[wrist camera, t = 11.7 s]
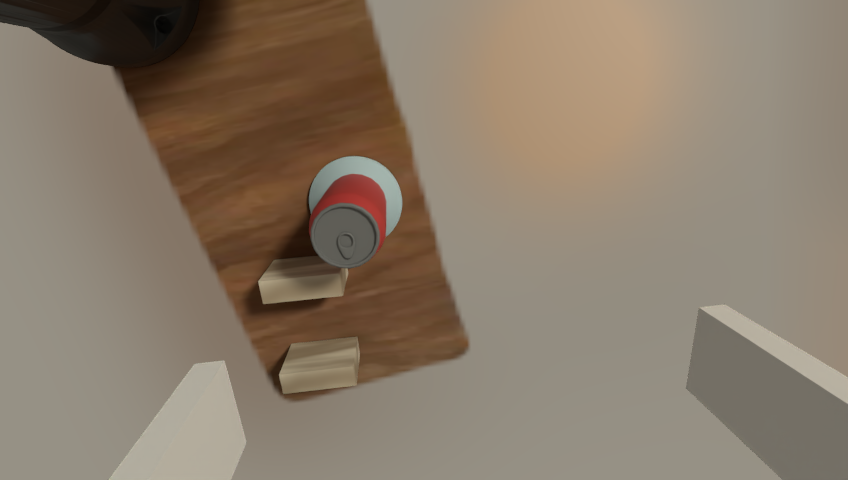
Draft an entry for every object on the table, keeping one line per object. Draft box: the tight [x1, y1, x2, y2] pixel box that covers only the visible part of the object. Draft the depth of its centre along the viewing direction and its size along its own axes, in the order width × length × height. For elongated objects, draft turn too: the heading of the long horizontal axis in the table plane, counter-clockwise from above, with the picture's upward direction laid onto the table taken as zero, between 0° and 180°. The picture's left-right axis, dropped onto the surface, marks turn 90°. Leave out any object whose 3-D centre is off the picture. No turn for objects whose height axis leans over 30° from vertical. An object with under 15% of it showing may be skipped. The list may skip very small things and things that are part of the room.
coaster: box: [309, 156, 402, 236], centre depth 44 cm, size 10×10×1 cm
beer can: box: [309, 174, 387, 268], centre depth 38 cm, size 7×7×12 cm
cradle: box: [258, 256, 360, 394], centre depth 45 cm, size 14×8×6 cm, turn 4°
